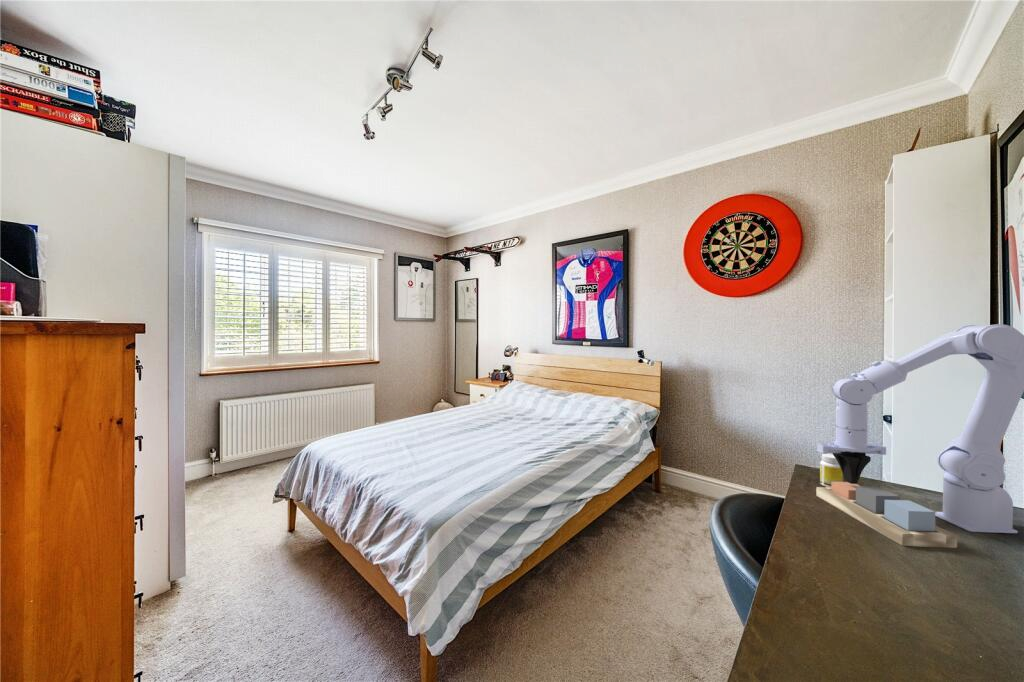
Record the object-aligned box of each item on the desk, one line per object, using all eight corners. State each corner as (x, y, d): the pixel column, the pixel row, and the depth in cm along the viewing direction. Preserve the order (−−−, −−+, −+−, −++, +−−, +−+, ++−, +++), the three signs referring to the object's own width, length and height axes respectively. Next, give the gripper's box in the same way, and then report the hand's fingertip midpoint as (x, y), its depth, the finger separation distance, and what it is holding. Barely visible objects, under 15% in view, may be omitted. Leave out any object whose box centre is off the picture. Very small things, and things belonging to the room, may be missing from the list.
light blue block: (909, 518, 77) (909, 500, 77) (934, 531, 72) (935, 511, 72) (884, 518, 77) (884, 499, 77) (908, 530, 72) (908, 511, 72)
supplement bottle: (847, 489, 97) (848, 458, 97) (829, 489, 97) (830, 458, 97) (832, 482, 102) (832, 453, 102) (815, 482, 102) (815, 453, 102)
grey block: (878, 503, 84) (878, 486, 84) (899, 514, 79) (900, 496, 79) (855, 502, 84) (855, 486, 84) (875, 513, 79) (875, 495, 79)
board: (857, 497, 92) (857, 488, 92) (957, 547, 70) (957, 535, 70) (816, 496, 93) (816, 487, 93) (902, 545, 71) (902, 533, 71)
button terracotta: (852, 497, 91) (852, 482, 91) (870, 507, 86) (870, 490, 86) (831, 497, 91) (831, 481, 91) (848, 506, 86) (848, 490, 86)
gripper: (867, 423, 92) (867, 476, 92) (807, 423, 93) (807, 475, 93) (895, 431, 85) (894, 488, 85) (830, 430, 86) (829, 486, 86)
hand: (850, 482), depth 89 cm, fingers closed
